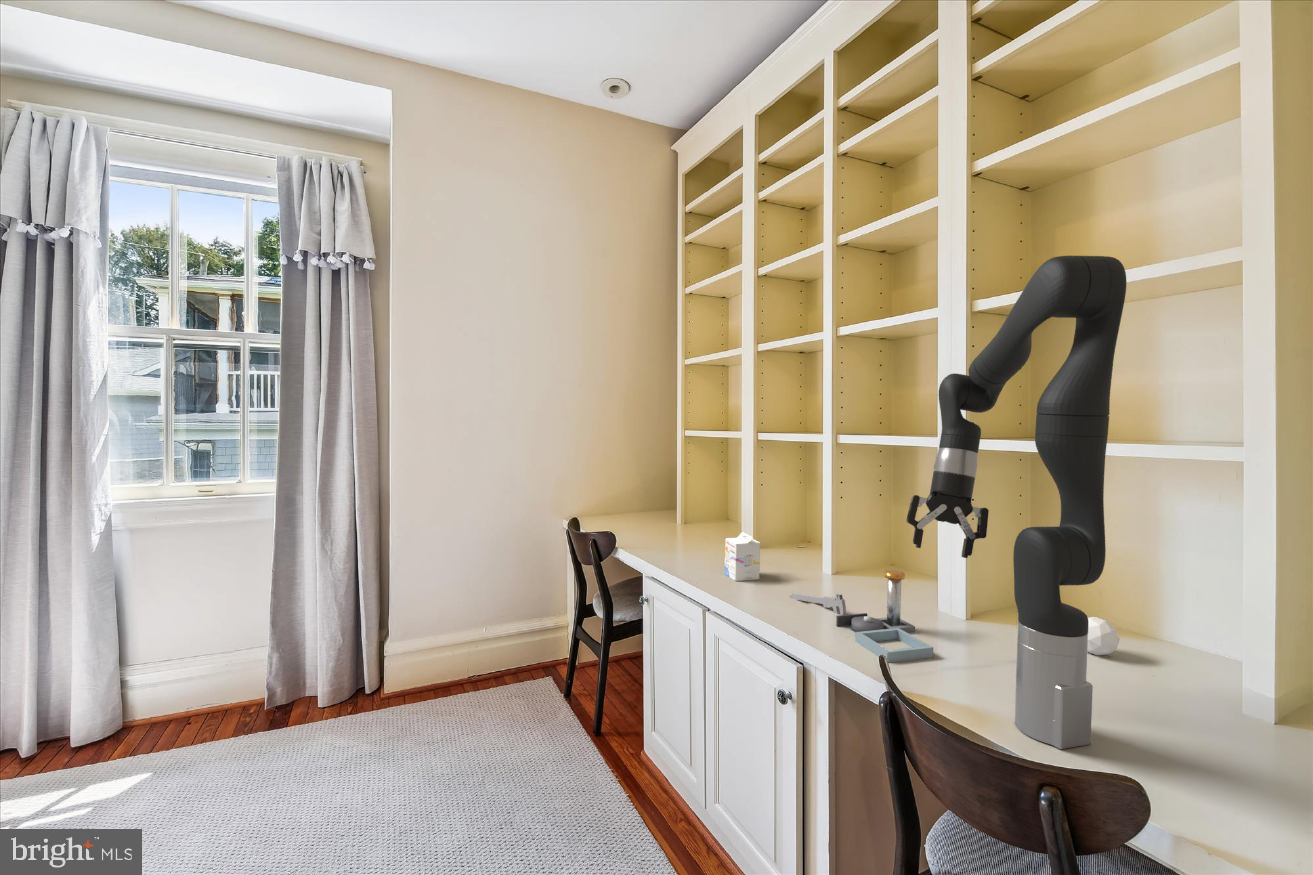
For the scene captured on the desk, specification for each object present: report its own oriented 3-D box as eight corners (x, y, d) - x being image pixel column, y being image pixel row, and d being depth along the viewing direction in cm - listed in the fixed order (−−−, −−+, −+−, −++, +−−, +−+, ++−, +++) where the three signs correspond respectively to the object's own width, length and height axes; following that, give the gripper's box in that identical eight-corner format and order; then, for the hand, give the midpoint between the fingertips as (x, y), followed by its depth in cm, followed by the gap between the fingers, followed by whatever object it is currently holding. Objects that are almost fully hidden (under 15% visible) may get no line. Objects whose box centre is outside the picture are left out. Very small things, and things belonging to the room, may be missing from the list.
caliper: (845, 620, 141) (846, 595, 141) (842, 621, 141) (843, 596, 141) (792, 596, 160) (792, 574, 159) (788, 597, 159) (789, 575, 159)
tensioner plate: (919, 637, 130) (919, 620, 130) (857, 644, 126) (858, 626, 126) (893, 623, 139) (894, 607, 139) (835, 629, 135) (835, 612, 135)
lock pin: (907, 630, 132) (909, 574, 131) (891, 631, 131) (892, 576, 130) (895, 623, 136) (896, 569, 136) (879, 624, 135) (880, 570, 135)
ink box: (723, 574, 181) (724, 532, 181) (747, 572, 184) (748, 531, 183) (735, 581, 173) (736, 538, 172) (760, 579, 175) (760, 536, 175)
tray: (933, 661, 117) (933, 647, 117) (886, 667, 115) (887, 652, 115) (898, 640, 128) (898, 627, 128) (855, 645, 125) (855, 632, 125)
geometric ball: (1103, 669, 120) (1110, 648, 116) (1063, 644, 126) (1068, 623, 122) (1123, 648, 123) (1131, 626, 118) (1083, 624, 129) (1089, 602, 124)
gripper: (919, 465, 113) (905, 546, 112) (999, 479, 109) (985, 563, 108) (913, 467, 120) (900, 543, 119) (988, 480, 116) (975, 559, 115)
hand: (941, 552), depth 113 cm, fingers open, 8 cm apart
